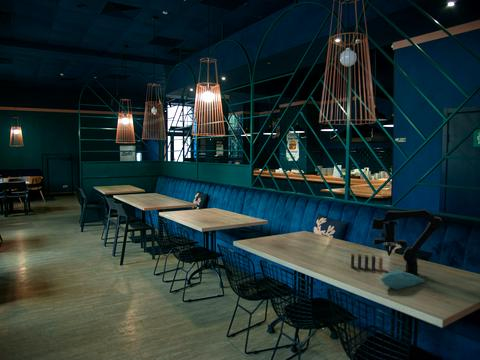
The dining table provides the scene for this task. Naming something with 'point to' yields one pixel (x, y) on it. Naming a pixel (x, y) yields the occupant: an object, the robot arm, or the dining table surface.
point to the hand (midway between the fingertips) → (389, 255)
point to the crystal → (400, 279)
